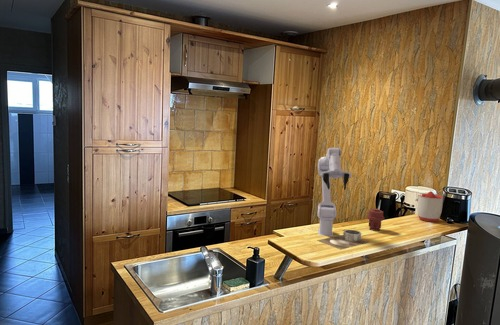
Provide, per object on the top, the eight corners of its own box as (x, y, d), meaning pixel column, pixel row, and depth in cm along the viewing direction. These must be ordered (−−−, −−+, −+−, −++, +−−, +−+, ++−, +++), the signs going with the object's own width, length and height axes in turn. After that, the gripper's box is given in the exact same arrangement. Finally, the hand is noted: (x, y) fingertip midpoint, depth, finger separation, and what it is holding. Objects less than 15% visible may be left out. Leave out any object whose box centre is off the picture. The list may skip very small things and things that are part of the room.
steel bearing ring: (350, 236, 205) (351, 228, 204) (364, 240, 197) (364, 233, 197) (339, 238, 199) (340, 231, 199) (353, 243, 192) (353, 235, 192)
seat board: (346, 235, 208) (346, 234, 208) (370, 243, 195) (370, 242, 195) (316, 241, 194) (316, 240, 194) (340, 250, 181) (340, 249, 181)
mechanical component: (386, 231, 219) (372, 232, 217) (376, 226, 229) (362, 227, 226) (388, 211, 218) (373, 211, 215) (378, 207, 228) (364, 207, 225)
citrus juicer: (419, 215, 265) (422, 188, 263) (445, 221, 252) (448, 192, 249) (409, 218, 255) (411, 189, 253) (434, 224, 242) (437, 194, 240)
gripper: (321, 161, 183) (322, 182, 175) (350, 161, 182) (353, 183, 173) (319, 170, 189) (321, 191, 180) (349, 170, 187) (351, 192, 178)
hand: (336, 188), depth 177 cm, fingers open, 7 cm apart
